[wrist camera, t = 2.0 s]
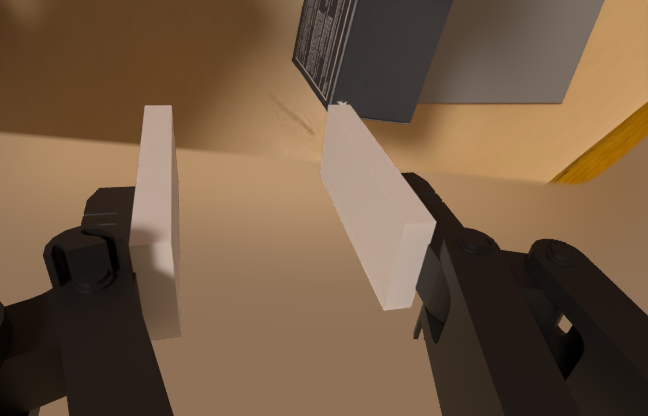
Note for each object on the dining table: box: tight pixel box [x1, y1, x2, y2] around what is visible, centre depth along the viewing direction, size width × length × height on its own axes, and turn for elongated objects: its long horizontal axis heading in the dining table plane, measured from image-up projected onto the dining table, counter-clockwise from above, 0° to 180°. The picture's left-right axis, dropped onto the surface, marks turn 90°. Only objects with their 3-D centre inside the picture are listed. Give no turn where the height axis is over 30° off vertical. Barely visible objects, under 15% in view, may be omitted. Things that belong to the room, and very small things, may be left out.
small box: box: [292, 0, 454, 124], centre depth 32 cm, size 11×6×10 cm, turn 166°
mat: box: [417, 0, 604, 103], centre depth 39 cm, size 19×16×1 cm
